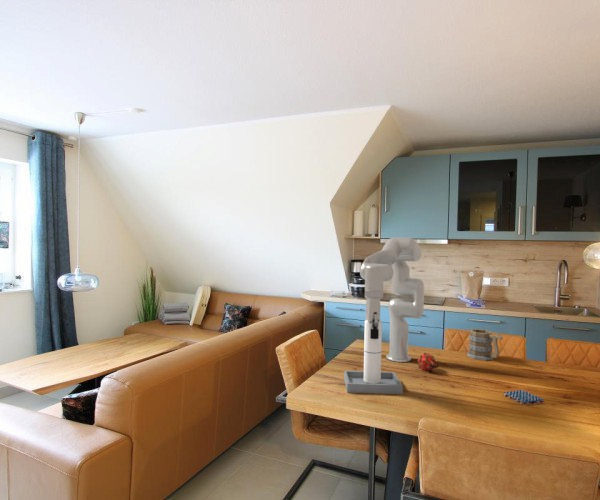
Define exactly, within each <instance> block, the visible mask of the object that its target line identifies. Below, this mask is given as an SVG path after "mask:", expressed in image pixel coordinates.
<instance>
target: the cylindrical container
mask: <svg viewBox="0 0 600 500" xmlns="http://www.w3.org/2000/svg"><path fill="white" fill-rule="evenodd" d="M373 324H374V323H373ZM378 329H379V336H378V339H371V338H370V334H371V322H368V321H367V320H366V319H365V320H364V330H363V331H364V337H363V338H364V339H363V341H364V342H363V371H364V381H365V382H367V383H372V384H376V383H380V382H381V372H382V344H383V343H382V336H383V335H382V334H383V333H382V332H383V321H382V320H380V322H379V323H378Z"/></svg>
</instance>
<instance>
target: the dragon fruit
mask: <svg viewBox="0 0 600 500" xmlns="http://www.w3.org/2000/svg"><path fill="white" fill-rule="evenodd" d="M417 362H418V368H419V369H422V370H423V371H424V372H425V373H429V371H434V370H435V369H436V368H437V369H438V368H439V365H440V364H438V363H437V361H436V359H435V356H434V355H431V354H430V353H428V352H423V353H422V354H420V355H419V357H418V358H417Z"/></svg>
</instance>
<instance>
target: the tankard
mask: <svg viewBox="0 0 600 500" xmlns="http://www.w3.org/2000/svg"><path fill="white" fill-rule="evenodd" d="M492 334H493V333H492V331H491V330H487V329H482V328H479V329H478V328H474V329H470V333H469V335H468V340H469V343H468V349H469V350H467V356H466V357H468V358H471V359H473V360H479V361H484V360H486V361H493V360H494V359H497V358H498V357H499V354H500V348H499V344H498V340H499V341H502V340H503V339H504V337H503V336H502V335H501V334H500V333H498V334H495V335H494V334H493V335H492ZM493 349H494V350H493ZM493 351H494V352H493ZM492 352H493V353H492Z"/></svg>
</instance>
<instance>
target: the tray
mask: <svg viewBox="0 0 600 500" xmlns="http://www.w3.org/2000/svg"><path fill="white" fill-rule="evenodd" d="M343 380H344V385H345V388H346V393H350V394H351V393H352V394H353V393H354V394H355V393H356V394H357V393H358V394H382V395H383V394H384V395H386V394H387V395H389V394H390V395H403V391H404V390H403V388H404V387H403V386H404V385H403V383H402V382H401V381H400V379H399V378H398V375H396V373H395V372H394V371H381V382H380V383H376V384H372V383H367V382H365V381H364V370H343Z"/></svg>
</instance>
